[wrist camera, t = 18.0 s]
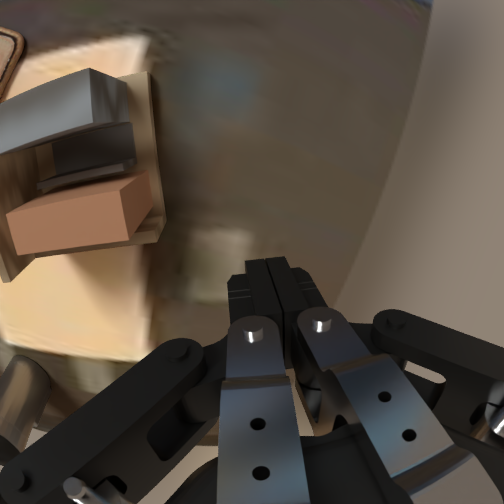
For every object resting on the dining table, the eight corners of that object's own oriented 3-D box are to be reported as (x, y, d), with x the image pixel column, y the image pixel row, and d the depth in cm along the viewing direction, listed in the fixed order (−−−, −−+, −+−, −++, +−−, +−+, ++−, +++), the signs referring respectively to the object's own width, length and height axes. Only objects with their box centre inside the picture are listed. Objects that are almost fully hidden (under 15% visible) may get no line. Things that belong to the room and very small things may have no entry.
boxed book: (153, 205, 31) (129, 240, 22) (61, 220, 30) (17, 255, 21) (147, 169, 30) (119, 190, 20) (54, 188, 29) (5, 214, 20)
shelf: (167, 220, 34) (144, 268, 23) (52, 237, 32) (3, 282, 22) (150, 73, 27) (114, 48, 16) (30, 108, 25) (-34, 112, 15)
